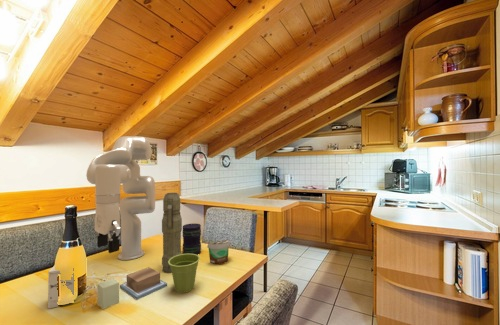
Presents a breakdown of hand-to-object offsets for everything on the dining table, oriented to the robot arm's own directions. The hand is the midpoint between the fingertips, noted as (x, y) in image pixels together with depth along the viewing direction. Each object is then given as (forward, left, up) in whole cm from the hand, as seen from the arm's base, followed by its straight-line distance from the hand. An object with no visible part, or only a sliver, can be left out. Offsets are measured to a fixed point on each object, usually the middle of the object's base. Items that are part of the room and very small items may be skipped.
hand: (108, 248), depth 80 cm
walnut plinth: (-1, +13, -19) cm, 23 cm away
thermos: (-6, +29, -19) cm, 35 cm away
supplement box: (-14, -9, -19) cm, 25 cm away
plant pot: (+13, +22, -19) cm, 32 cm away
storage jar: (-15, +47, -19) cm, 53 cm away
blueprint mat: (-1, +13, -19) cm, 23 cm away
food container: (+7, +48, -19) cm, 52 cm away
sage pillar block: (0, 0, -19) cm, 19 cm away
